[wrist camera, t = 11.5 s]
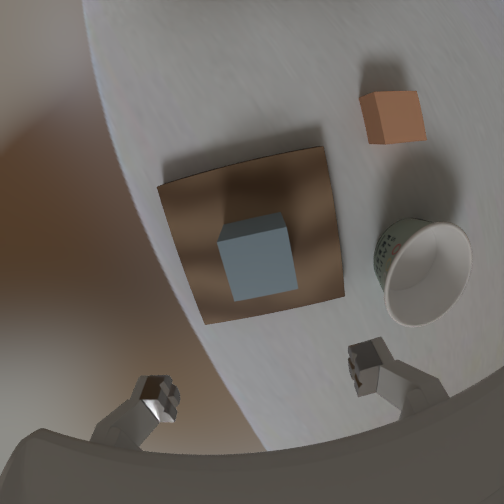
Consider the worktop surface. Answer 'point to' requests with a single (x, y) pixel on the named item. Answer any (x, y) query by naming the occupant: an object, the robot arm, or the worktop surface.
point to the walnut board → (250, 206)
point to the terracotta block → (393, 117)
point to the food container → (422, 269)
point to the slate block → (257, 257)
